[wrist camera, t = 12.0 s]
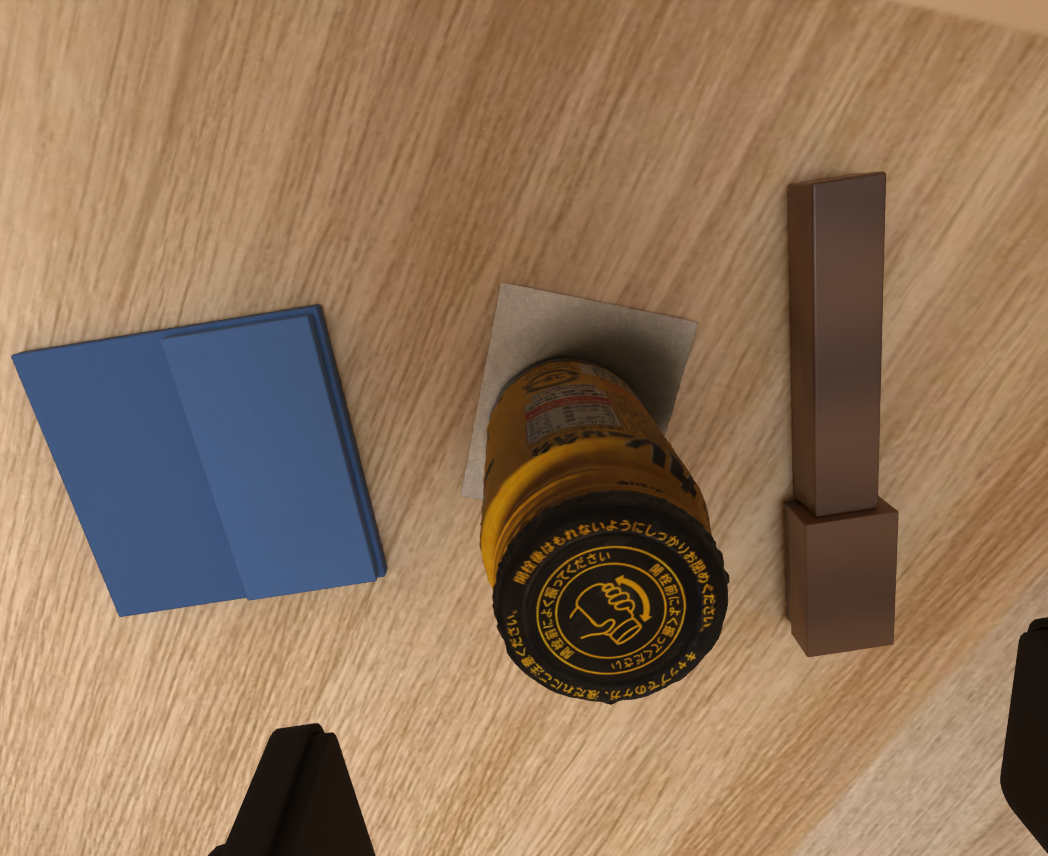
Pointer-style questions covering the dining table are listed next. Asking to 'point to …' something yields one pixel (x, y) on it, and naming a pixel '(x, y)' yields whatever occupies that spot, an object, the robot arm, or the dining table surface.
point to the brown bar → (838, 419)
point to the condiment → (591, 498)
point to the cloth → (209, 460)
